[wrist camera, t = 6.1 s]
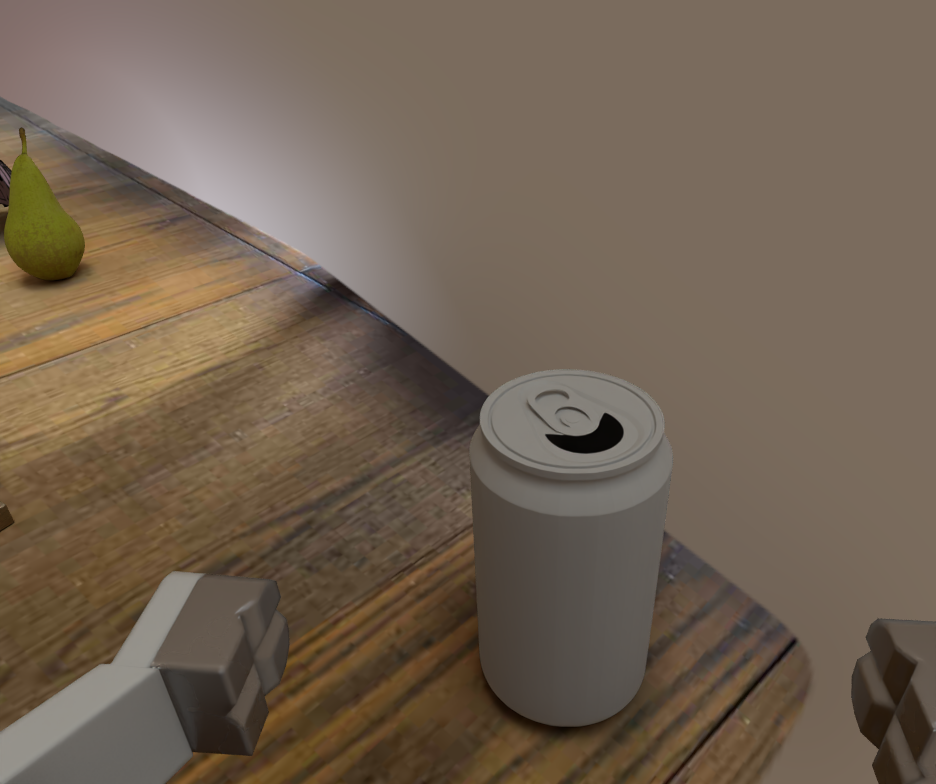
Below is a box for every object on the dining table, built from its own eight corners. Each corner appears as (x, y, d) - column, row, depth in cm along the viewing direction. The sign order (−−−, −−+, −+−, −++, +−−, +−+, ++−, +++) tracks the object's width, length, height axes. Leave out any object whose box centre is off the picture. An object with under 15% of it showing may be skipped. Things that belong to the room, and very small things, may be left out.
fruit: (22, 298, 61) (-37, 148, 54) (20, 273, 65) (-35, 131, 59) (98, 282, 63) (49, 135, 56) (91, 259, 67) (45, 121, 61)
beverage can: (535, 771, 26) (539, 508, 19) (451, 639, 31) (432, 393, 24) (679, 691, 28) (725, 434, 22) (580, 580, 33) (594, 342, 27)
